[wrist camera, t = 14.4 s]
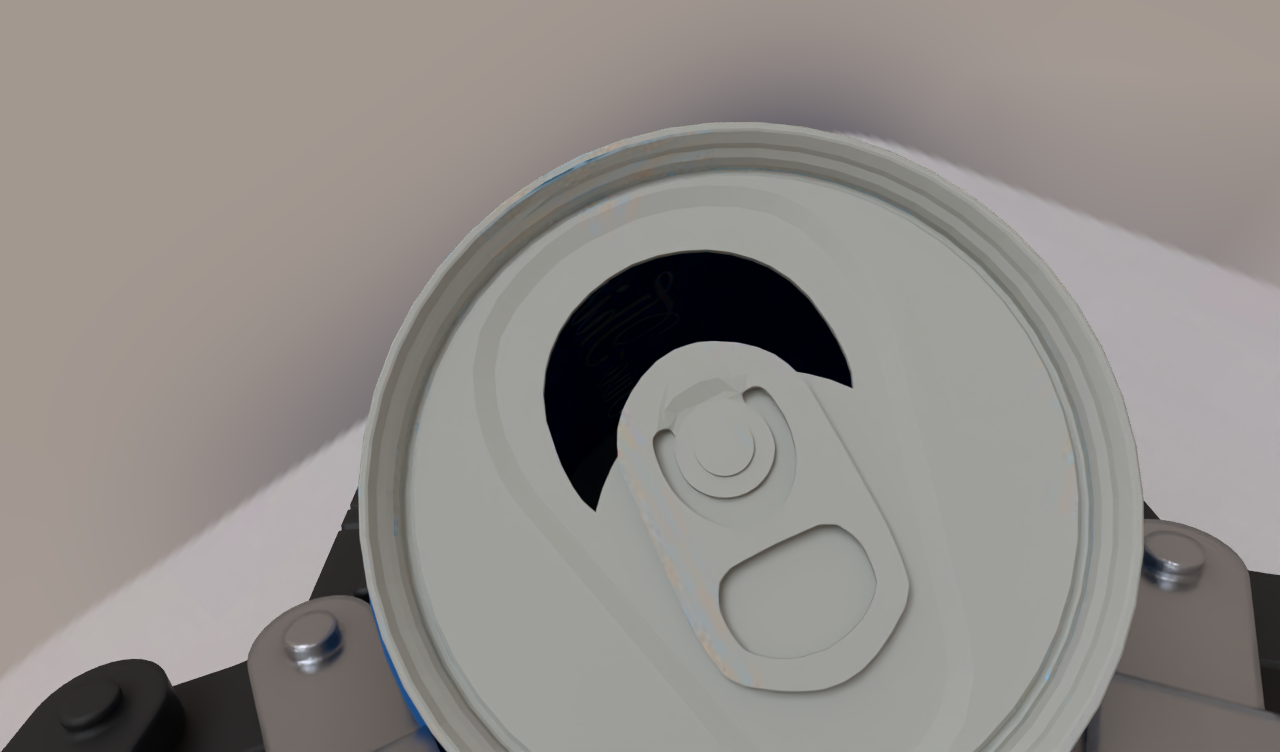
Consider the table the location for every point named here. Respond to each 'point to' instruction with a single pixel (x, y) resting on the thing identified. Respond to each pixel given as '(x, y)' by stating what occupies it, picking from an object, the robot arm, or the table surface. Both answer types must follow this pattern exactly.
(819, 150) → the beverage can
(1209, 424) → the table surface
